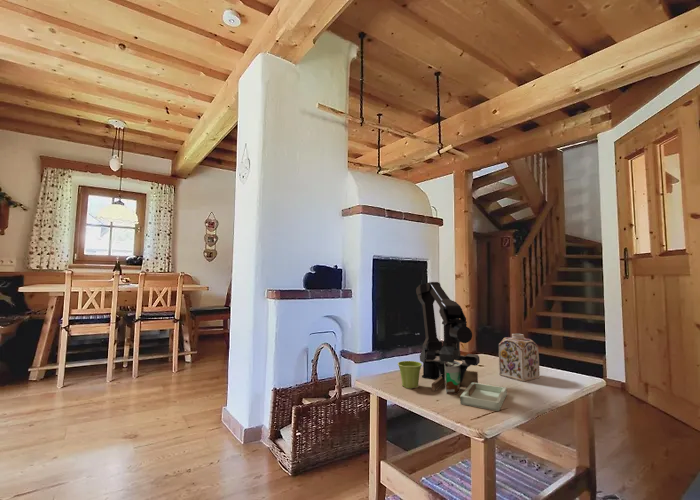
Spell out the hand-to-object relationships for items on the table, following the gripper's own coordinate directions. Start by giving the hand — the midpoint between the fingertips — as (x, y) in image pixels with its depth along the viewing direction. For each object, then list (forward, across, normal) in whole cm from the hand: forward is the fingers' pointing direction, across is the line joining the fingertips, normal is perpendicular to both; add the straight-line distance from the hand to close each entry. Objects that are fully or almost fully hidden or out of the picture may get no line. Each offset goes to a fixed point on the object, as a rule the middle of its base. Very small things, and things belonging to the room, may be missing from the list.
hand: (452, 380), depth 129 cm
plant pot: (+4, -16, -2) cm, 17 cm away
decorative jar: (+4, +19, +35) cm, 40 cm away
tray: (+4, +12, -2) cm, 12 cm away
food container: (+4, 0, +2) cm, 5 cm away
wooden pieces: (+4, 0, +3) cm, 5 cm away
